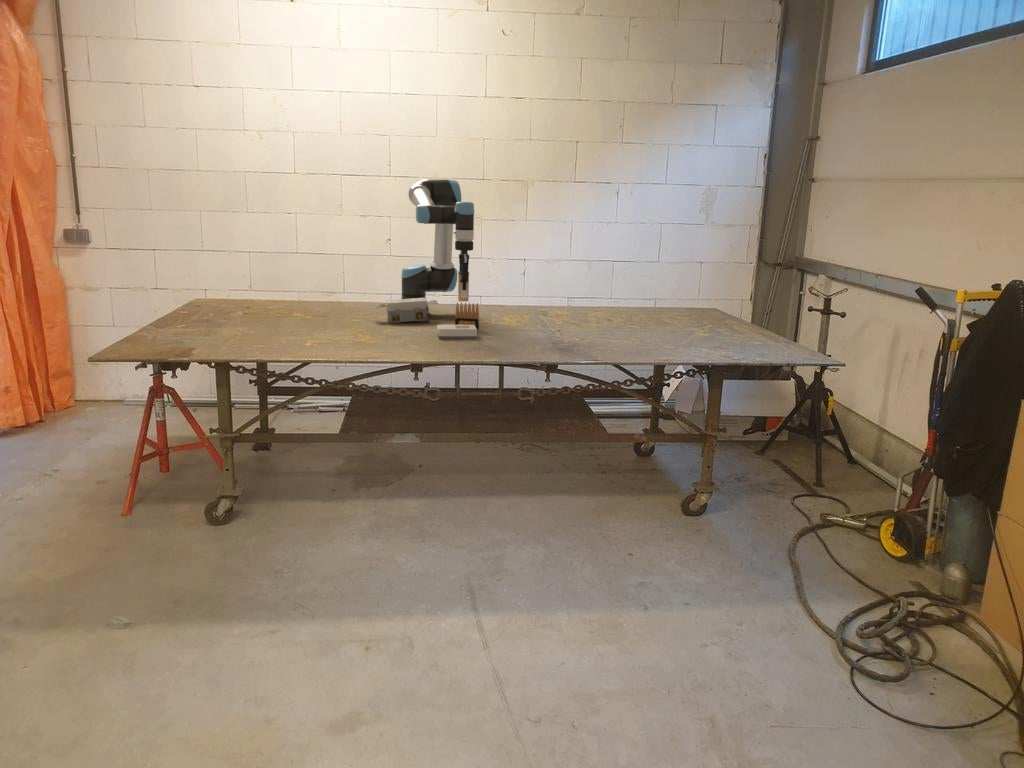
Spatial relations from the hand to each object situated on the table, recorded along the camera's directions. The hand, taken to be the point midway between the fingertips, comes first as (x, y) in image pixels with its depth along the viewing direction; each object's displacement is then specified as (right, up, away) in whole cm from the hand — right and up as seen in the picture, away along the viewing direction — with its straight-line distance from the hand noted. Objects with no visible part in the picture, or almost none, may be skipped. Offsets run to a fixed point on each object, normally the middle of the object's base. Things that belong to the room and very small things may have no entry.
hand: (463, 296), depth 314 cm
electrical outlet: (-29, -8, +34) cm, 45 cm away
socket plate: (-3, -16, +4) cm, 17 cm away
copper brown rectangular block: (0, -2, 0) cm, 2 cm away
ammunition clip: (0, -13, +20) cm, 23 cm away
